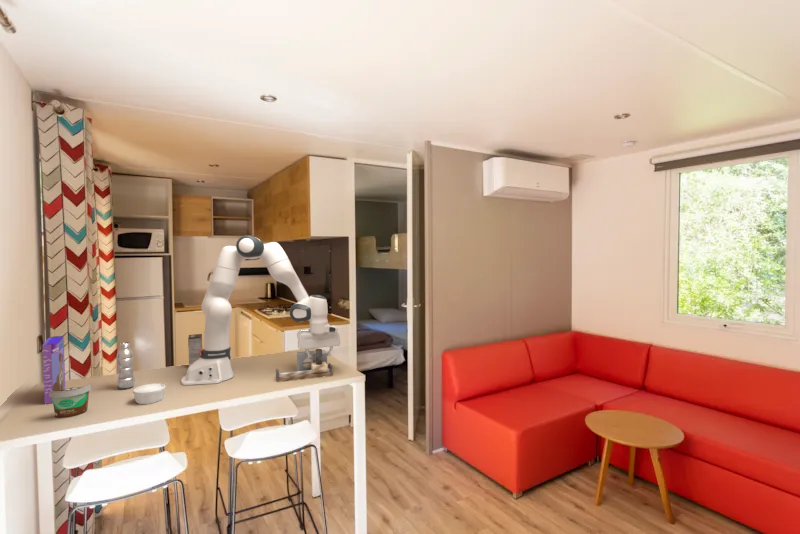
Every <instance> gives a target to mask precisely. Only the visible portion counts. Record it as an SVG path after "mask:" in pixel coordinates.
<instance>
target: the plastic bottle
mask: <svg viewBox="0 0 800 534" xmlns="http://www.w3.org/2000/svg"><path fill="white" fill-rule="evenodd" d="M134 357H135V352H134V351H133V350H132V349H131V342H130V341H129V342H128V341H127V342H126V341H125V342H121V343H119V350H118V351H117V353H116V362H117V368H118V369H117V370H118V374H117V375H118V377H117V382H116V383H117V387H118V388H119V389H129V388H132V387H133V386H134V385H135V384H136V377H135V375H134V359H135V358H134Z"/></svg>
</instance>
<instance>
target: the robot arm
mask: <svg viewBox="0 0 800 534" xmlns="http://www.w3.org/2000/svg"><path fill="white" fill-rule="evenodd" d="M259 259H261V260H262V261H263V262H264V264H265V266H266V268H267V271H268V273H269V274H270V276H271V277H272V278H273V280H274V281H277V282H278V283H281V284H283V285H285V286H286V287H288V288H289V290H290V291H291V292H292V294H293V297H294V298H295V300H296V301H297V302H295V303H294V304H292V305H291V306H290V308H289V317H290V319H291V320H292V321H294V322H296V323H303V322H306V321H308V322H309V328H307V329H300V330H299V331H297V333H296V338H297V339H298V340H297V348H298V349H299V350H305V351H306V352H307V354H308V358H311V353H309V352H308V351H310V350H311V349H312V348H313V349H323V348H329V350H328V351H326V353H327V357H330V356H331V357H332V351H333V350H334V347H340V344H341V336H340V334H339V332H338V327H337V326H336V325H334V324H330V323H329V320H328V313H329V311H328V306H329V305H328V302H327V301H328V300H327V298H326V297H325V296H323V295H320V294H311V295H310V294H309V293H308V291H307V290H306V287H304V284H303V283H302V280H301V279H300V278H299V276H298V275H297V273H296V271H295V269H294V266H293V265H292V263H291V260H290V259H289V257H288V255H287V253H286V251H285V250H284V249H283V247H282V246H281V244H280V243H278V242H276V241H272V242H267V243H264V242H263V241H262V240H260V238H258V237H256V236H253V235H248V234H247V235H243V236H241V237H239V238H238V240H237V241H236V244H235V246H234V245H226V246H224V247H222V248H221V250H220V252H219V255H218V256H217V259H216V262H215V265H214V269H213V272H212V274H211V280H210V283H209V285H208V287H207V290H206V292H205V294H204V296H203V300H202V302H201V311H202V313H203V314H204V315H205V324H204V332H203V341H204V342H203V346H204V347H203V348H202V349H200V351H199V352H200V358H199V359H198V360H196V361H195V362H194V363H193V364H191V365H190V366H189V365H188V367H187V370H186V375H184V376H183V377H181V380H180V382H181V383H180V384H181V385H183V386H190V385H192V386H194V385H212V384H219V383H222V382H224V381H227V380H230V379H232V378H233V377H234V376H235V374H234V371H233V368H232V362H231V358H232V348H231V346H230V345H231V344H230V343H231V342H230V340H231V339H230V329H231V320H232V319H231V318H232V312H233V310H232V309H233V308H232V304H231V303H230V301H229V300H230V297H231V295H232V292H233V290H234V289H235V288H236V284H237V282H238V277H239V273H240V270H241V266H242V264H243V262H244V261H257V260H259Z"/></svg>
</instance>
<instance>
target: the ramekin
mask: <svg viewBox="0 0 800 534" xmlns="http://www.w3.org/2000/svg"><path fill="white" fill-rule="evenodd" d="M165 390H166V385H165V384H163V383H148V384H142V385H140V386H137V387H135V388H134V389H133V390H132V393H133V394H134V395H133V396H134V399H135V402H136V403H137V404H139V405H150V404H154V403H158V402H159V401H161V400H162V399H164V396H165Z"/></svg>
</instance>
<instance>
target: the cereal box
mask: <svg viewBox="0 0 800 534" xmlns="http://www.w3.org/2000/svg"><path fill="white" fill-rule="evenodd" d="M65 368H66V367H65V337H64V335H55V336H49V337H47V339H46V340H45V341H44V342H43V344H42V370H43V372H42V373H43V396H44V399H43V400H44V405H45V404H46V405H51V404H52V405H53V401H52V397H50V396H49V394H50V391H51V390H52V391H60V390H64V389H66V369H65Z"/></svg>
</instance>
